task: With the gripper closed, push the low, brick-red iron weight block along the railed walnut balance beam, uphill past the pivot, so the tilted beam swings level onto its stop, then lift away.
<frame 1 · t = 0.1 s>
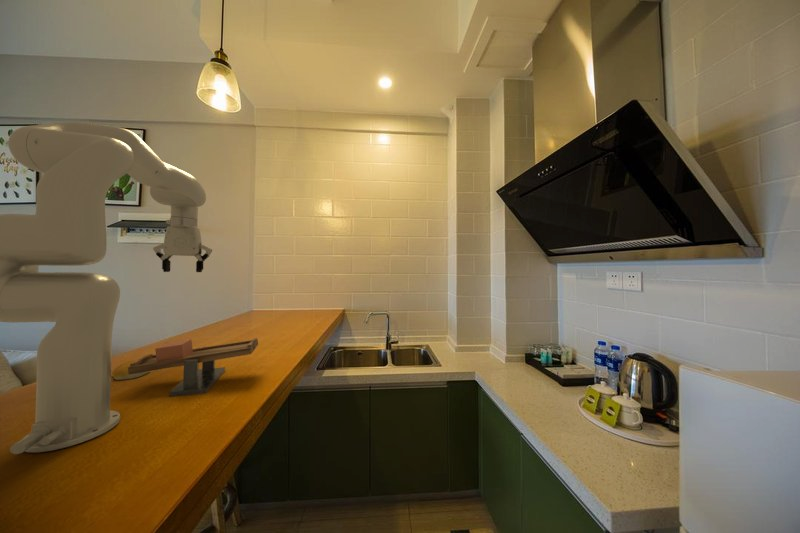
hand: (183, 271, 97), 31 cm above the table, fingers open, 9 cm apart
balance beam: (200, 355, 78), point 8 cm above the table, hinge at -6.3°, touching weight block
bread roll: (131, 375, 83), on the table
weight block: (175, 357, 76), point 8 cm above the table, tilted 6°, touching balance beam
balance stand: (200, 382, 78), on the table
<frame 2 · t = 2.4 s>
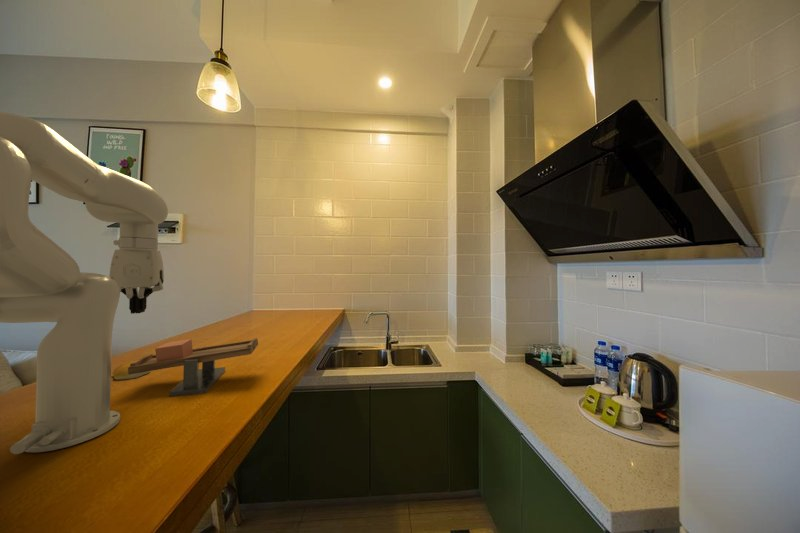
hand: (137, 312, 74), 20 cm above the table, fingers closed
nothing on the table moved.
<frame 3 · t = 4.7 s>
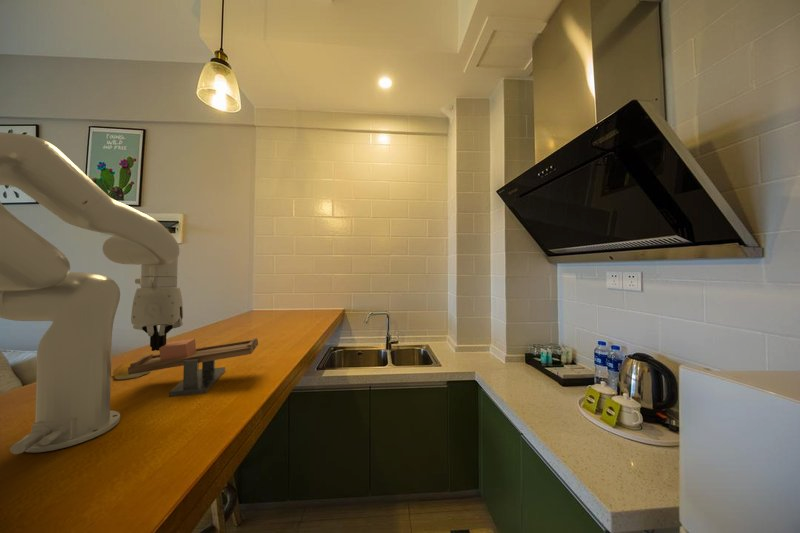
hand: (158, 349, 75), 10 cm above the table, fingers closed
weight block: (179, 357, 77), point 8 cm above the table, tilted 6°, touching balance beam, gripper
everything else where it was.
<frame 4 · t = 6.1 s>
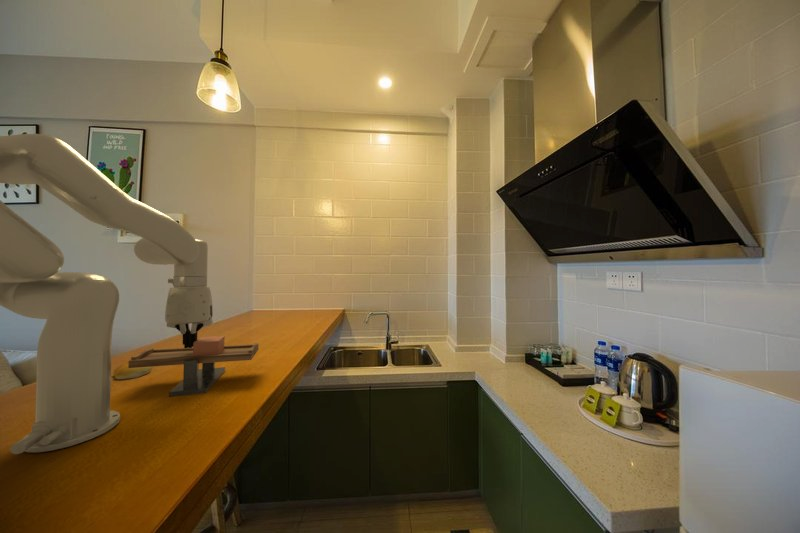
hand: (189, 346, 78), 10 cm above the table, fingers closed
balance beam: (200, 355, 78), point 8 cm above the table, hinge at 0.5°, touching weight block
weight block: (209, 352, 79), point 8 cm above the table, touching balance beam, gripper
everything else where it was.
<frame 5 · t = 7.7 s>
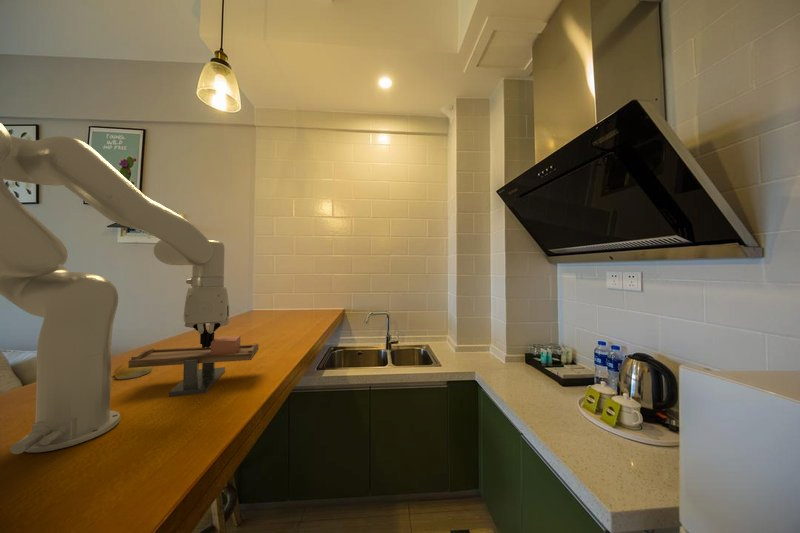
hand: (207, 346, 79), 10 cm above the table, fingers closed
weight block: (226, 352, 80), point 8 cm above the table, touching balance beam, gripper
everything else where it was.
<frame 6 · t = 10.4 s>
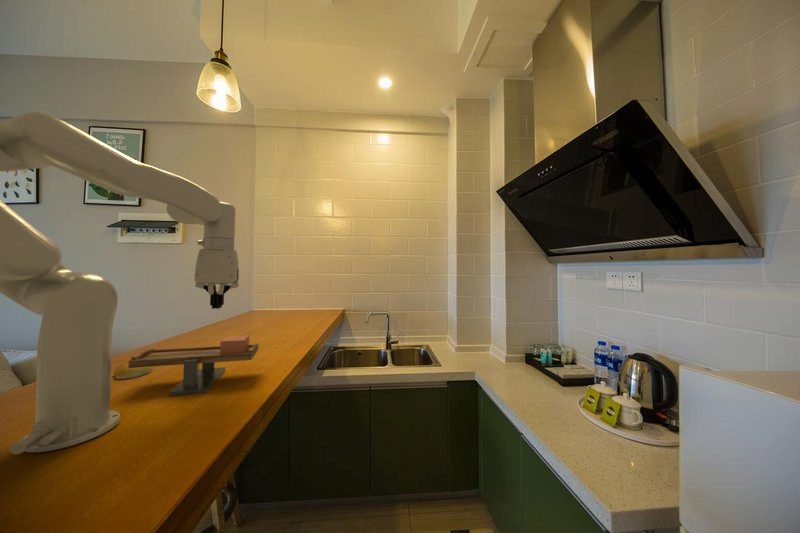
hand: (216, 307, 79), 21 cm above the table, fingers closed
weight block: (235, 351, 81), point 8 cm above the table, touching balance beam
everything else where it was.
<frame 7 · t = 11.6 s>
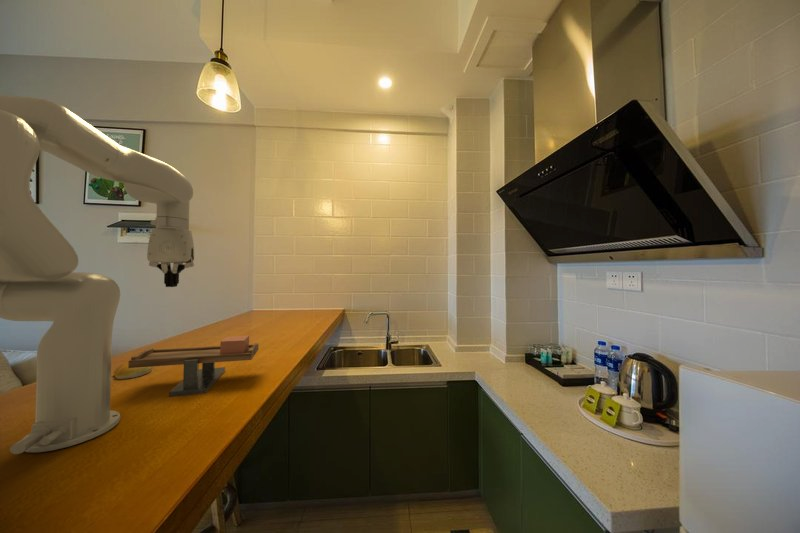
hand: (171, 286, 81), 27 cm above the table, fingers closed
nothing on the table moved.
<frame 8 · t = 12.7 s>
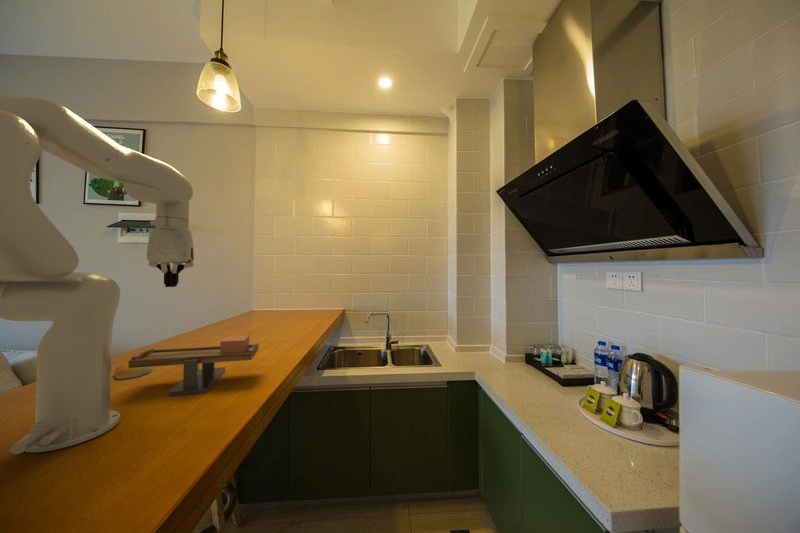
hand: (171, 286, 81), 27 cm above the table, fingers closed
nothing on the table moved.
at the end: balance beam at +0° (first picture: -6°); weight block inside the target area on the balance beam (0.5 cm from its centre), point 1.1 cm above the balance beam's base; weight block tilted 1° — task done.
